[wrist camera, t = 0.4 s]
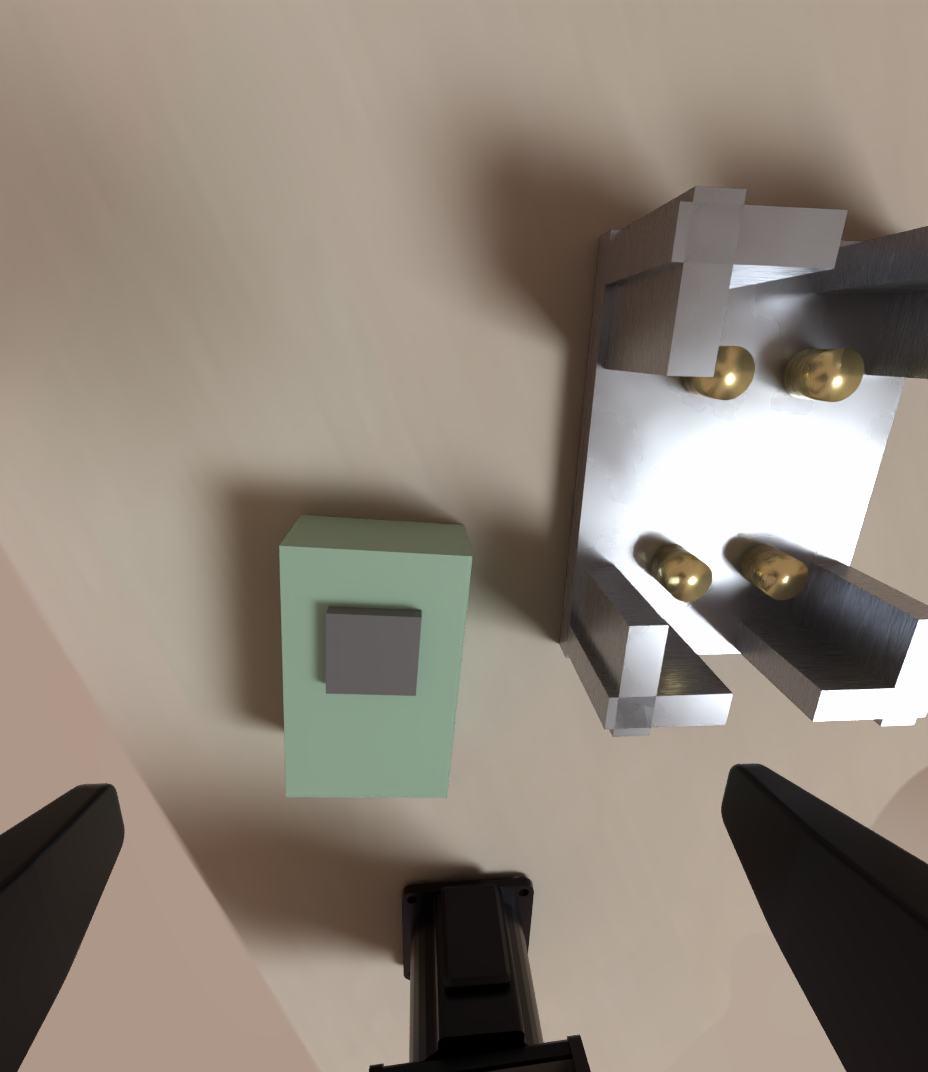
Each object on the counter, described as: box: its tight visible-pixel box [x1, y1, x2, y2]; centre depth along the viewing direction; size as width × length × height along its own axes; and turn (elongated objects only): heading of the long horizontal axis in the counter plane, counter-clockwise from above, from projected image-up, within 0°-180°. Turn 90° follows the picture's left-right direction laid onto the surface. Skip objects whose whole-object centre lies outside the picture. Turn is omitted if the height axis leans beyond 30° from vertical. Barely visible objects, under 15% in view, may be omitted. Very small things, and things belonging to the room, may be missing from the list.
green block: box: [279, 515, 473, 798], centre depth 19 cm, size 10×6×4 cm, turn 175°
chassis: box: [560, 186, 928, 737], centre depth 17 cm, size 15×11×6 cm
